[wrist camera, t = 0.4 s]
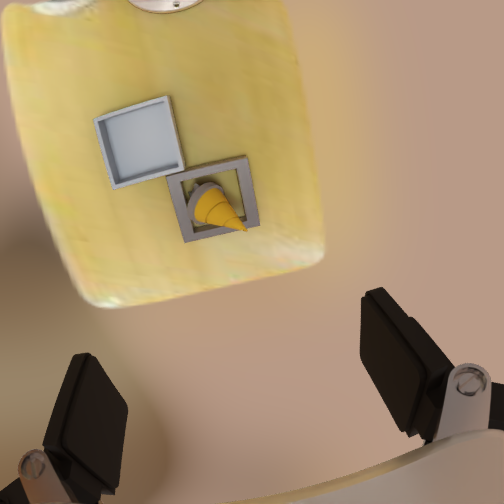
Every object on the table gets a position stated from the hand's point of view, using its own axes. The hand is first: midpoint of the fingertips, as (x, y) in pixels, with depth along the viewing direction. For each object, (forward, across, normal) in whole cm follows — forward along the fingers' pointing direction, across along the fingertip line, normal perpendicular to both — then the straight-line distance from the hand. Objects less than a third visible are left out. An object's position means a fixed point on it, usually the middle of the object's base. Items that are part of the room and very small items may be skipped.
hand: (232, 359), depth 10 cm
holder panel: (+32, 0, +3) cm, 32 cm away
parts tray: (+32, +7, -6) cm, 33 cm away
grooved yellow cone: (+33, 0, +3) cm, 33 cm away
